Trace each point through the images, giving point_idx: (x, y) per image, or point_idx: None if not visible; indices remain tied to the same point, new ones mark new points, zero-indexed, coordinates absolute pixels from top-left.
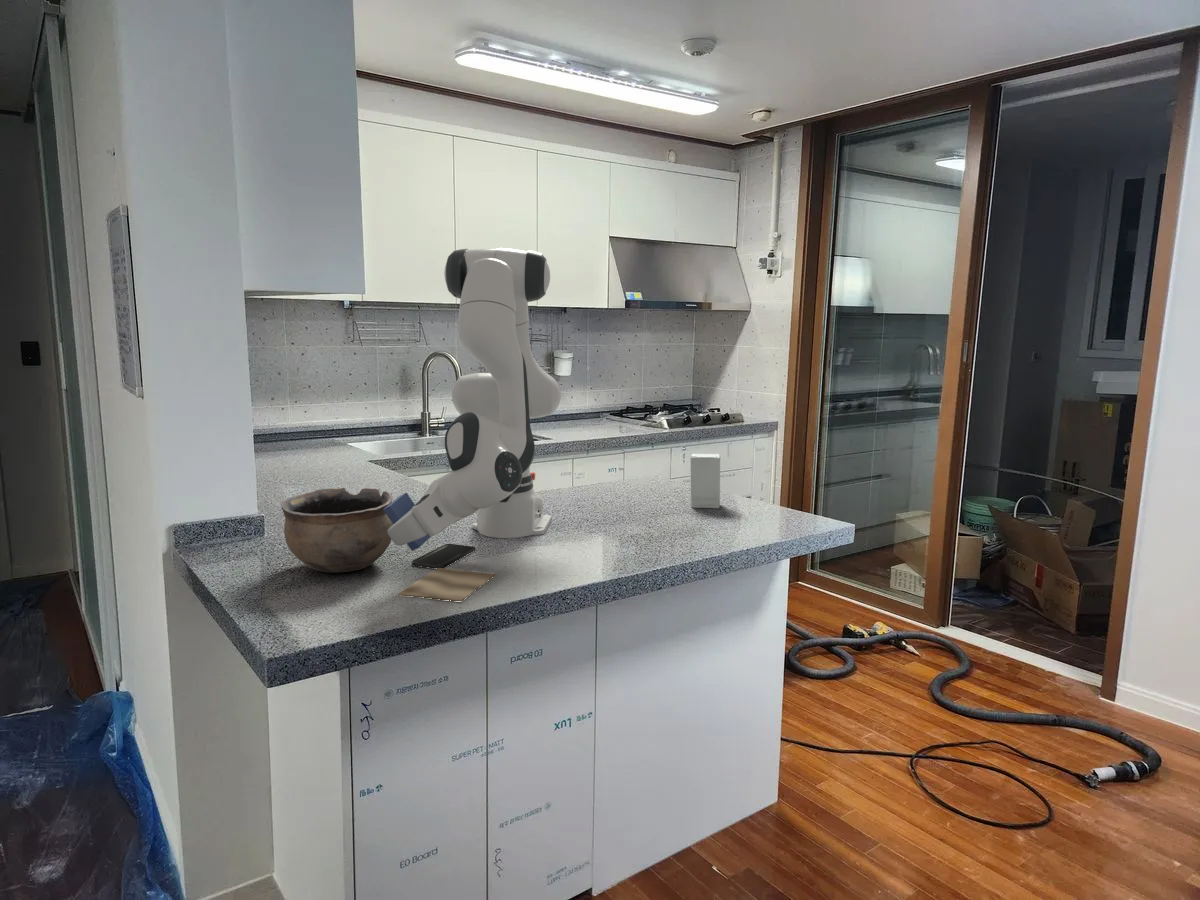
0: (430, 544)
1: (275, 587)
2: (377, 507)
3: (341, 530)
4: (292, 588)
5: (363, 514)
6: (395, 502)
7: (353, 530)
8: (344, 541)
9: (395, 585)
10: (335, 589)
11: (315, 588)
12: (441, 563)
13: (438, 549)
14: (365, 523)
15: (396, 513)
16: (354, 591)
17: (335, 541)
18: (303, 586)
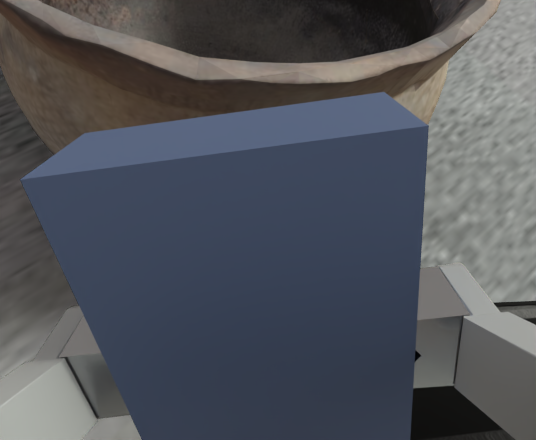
0: (529, 245)
1: (4, 100)
2: (221, 63)
3: (23, 68)
4: (3, 136)
5: (89, 56)
6: (141, 174)
7: (67, 107)
8: (41, 126)
9: (124, 422)
10: (19, 243)
11: (17, 186)
12: (420, 437)
13: (513, 310)
14: (131, 112)
15: (87, 289)
16: (10, 315)
17: (19, 99)
18: (28, 150)
